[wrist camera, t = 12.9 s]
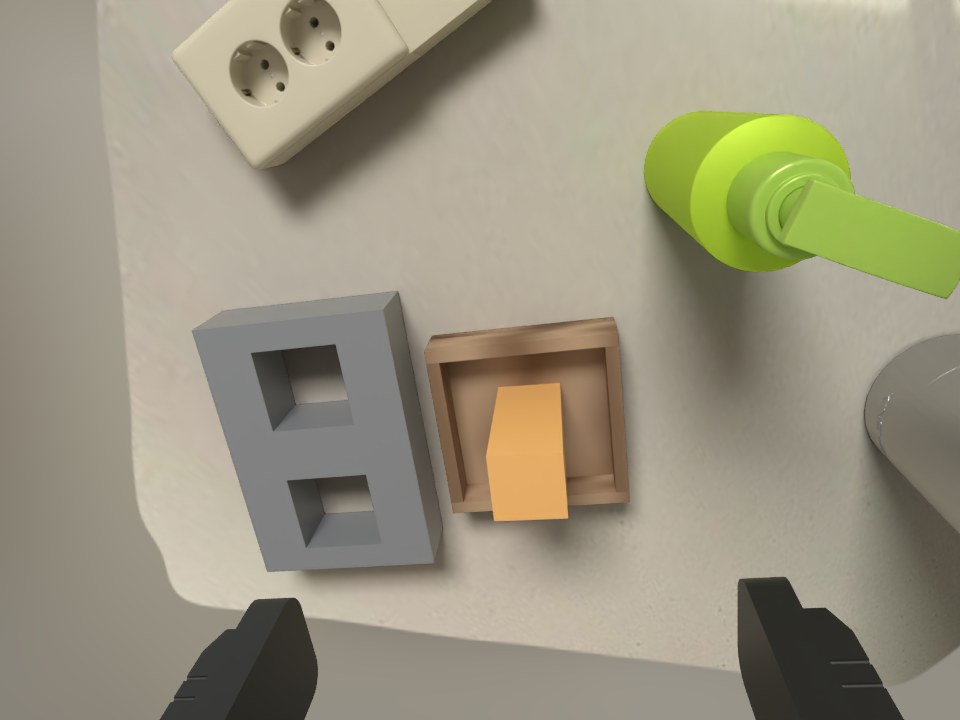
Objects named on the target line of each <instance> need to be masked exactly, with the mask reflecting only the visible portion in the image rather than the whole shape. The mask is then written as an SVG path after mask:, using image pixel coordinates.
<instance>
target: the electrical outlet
mask: <svg viewBox="0 0 960 720" xmlns="http://www.w3.org/2000/svg"><path fill="white" fill-rule="evenodd" d="M491 1H493V0H229V1H228V2H227V3H226V4H225V5H224V6H223V7H222V8H221V9H219V10H218V11H217V12H216V13H215V14H214V15H213V16H212V17H211V18H209V19H208V20H207V21H206V22H205V23H204V24H203V25H202V26H201V27H200V28H198V29H197V30H196V31H195V32H194V33H193V34H192V35H191V36H190V37H189V38H187V39H186V40H185V41H184V42H183V43H182V44H181V45H180V46H179V47H177V48H176V49H175V50H174V51H173V53H172V59H173V61H174V63H175V64H176V65H177V67H178V68H179V69H180V71H181V72H182V73H183V75H184V76H185V77H186V79H187V80H188V81H189V83H190V84H191V86H192V87H193V88H194V90H195V91H196V92H197V94H198V95H199V96H200V98H201V99H202V100H203V102H204V103H205V104H206V106H207V107H208V108H209V110H210V111H211V112H212V114H213V115H214V116H215V118H216V119H217V120H218V122H219V123H220V124H221V126H222V127H223V128H224V130H225V131H226V132H227V134H228V135H229V136H230V138H231V139H232V140H233V142H234V143H235V145H236V146H237V147H238V149H239V150H240V151H241V153H242V154H243V155H244V157H245V158H246V159H247V161H248V162H249V163H250V165H251V166H252V167H253V168H255V169H264V168H269V167H274V166H278V165H282V164H284V163H285V162H287V161H288V160H289V159H291V158H292V157H293V156H294V155H296V154H297V153H298V152H299V151H301V150H302V149H303V148H305V147H306V146H307V145H308V144H310V143H311V142H312V141H314V140H315V139H316V138H317V137H319V136H320V135H321V134H323V133H324V132H325V131H326V130H328V129H329V128H330V127H331V126H333V125H334V124H335V123H337V122H338V121H339V120H340V119H342V118H343V117H344V116H346V115H347V114H348V113H349V112H351V111H352V110H353V109H354V108H356V107H357V106H358V105H360V104H361V103H362V102H363V101H365V100H366V99H367V98H369V97H370V96H371V95H372V94H374V93H375V92H376V91H378V90H379V89H380V88H381V87H383V86H384V85H385V84H386V83H388V82H389V81H390V80H392V79H393V78H394V77H395V76H397V75H398V74H399V73H401V72H402V71H403V70H404V69H406V68H407V67H408V66H410V65H411V64H412V63H413V62H415V61H416V60H417V59H418V58H420V57H421V56H422V55H424V54H425V53H426V52H427V51H429V50H430V49H431V48H433V47H434V46H435V45H436V44H438V43H439V42H440V41H441V40H443V39H444V38H445V37H447V36H448V35H449V34H450V33H452V32H453V31H454V30H456V29H457V28H458V27H459V26H461V25H462V24H463V23H465V22H466V21H467V20H468V19H470V18H471V17H472V16H473V15H475V14H476V13H477V12H479V11H480V10H481V9H482V8H484V7H485V6H486V5H488V4H489V3H490V2H491Z"/></svg>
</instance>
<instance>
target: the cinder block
mask: <svg viewBox="0 0 960 720" xmlns="http://www.w3.org/2000/svg"><path fill="white" fill-rule="evenodd" d="M192 333H193V336H194V339H195V342H196V346H197V349H198V352H199V355H200V358H201V362H202V365H203V368H204V371H205V374H206V377H207V381H208V384H209V387H210V390H211V393H212V397H213V400H214V403H215V406H216V409H217V413H218V416H219V419H220V422H221V425H222V429H223V432H224V435H225V438H226V441H227V445H228V448H229V451H230V454H231V457H232V461H233V464H234V467H235V470H236V473H237V476H238V480H239V483H240V486H241V489H242V492H243V496H244V499H245V502H246V505H247V508H248V512H249V515H250V518H251V521H252V524H253V528H254V531H255V534H256V537H257V540H258V544H259V547H260V550H261V553H262V556H263V560H264V563H265V566H266V569H267V572H276V571H296V570H315V569H334V568H353V567H372V566H392V565H411V564H430V563H434V562H435V558H436V554H437V550H438V546H439V542H440V537H441V533H442V529H443V525H442V520H441V515H440V509H439V504H438V499H437V494H436V488H435V483H434V478H433V473H432V467H431V462H430V457H429V452H428V446H427V441H426V436H425V431H424V425H423V420H422V415H421V410H420V405H419V399H418V394H417V389H416V384H415V378H414V373H413V368H412V363H411V357H410V352H409V347H408V342H407V336H406V331H405V326H404V321H403V315H402V310H401V305H400V300H399V294H398V291H394V292H385V293H376V294H368V295H359V296H350V297H341V298H332V299H324V300H315V301H306V302H297V303H288V304H280V305H271V306H262V307H253V308H244V309H236V310H227V311H222V312H220V313H219V314H217V315H215V316H214V317H212V318H211V319H209V320H208V321H206V322H204V323H203V324H201V325H200V326H198V327H197V328H195V329H193V330H192ZM332 344H336V349H337V353H338V357H339V362H340V366H341V370H342V375H343V379H344V383H345V387H346V392H347V396H348V400H344V401H332V402H321V403H310V404H299V405H296V404H295V401H294V397H293V393H292V389H291V386H290V382H289V378H288V374H287V370H286V367H285V363H284V359H283V355H282V352H281V350H284V349H293V348H303V347H313V346H323V345H332ZM355 475H366V478H367V482H368V486H369V491H370V495H371V499H372V503H373V508H374V511H366V512H350V513H335V514H324V510H323V506H322V503H321V499H320V495H319V491H318V487H317V484H316V480H315V478H327V477H341V476H355Z"/></svg>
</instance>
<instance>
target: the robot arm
mask: <svg viewBox="0 0 960 720" xmlns="http://www.w3.org/2000/svg"><path fill="white" fill-rule="evenodd" d="M865 424H866V427H867V430H868V433H869V436H870V438H871V439H872V441H873V442H874V444H875V445H876V447H877V448H878V449H879V450H880V451H881V452H882V453H883V454H884V455H885V456H886V458H887V459H888V460H889V461H890V462H891V463H892V464H893V465H894V466H895V467H896V468H897V469H898V470H899V471H900V472H901V473H902V474H903V475H904V476H905V477H906V479H907V480H908V481H909V482H910V483H911V484H912V485H913V486H914V487H915V488H916V489H917V490H918V491H919V492H920V493H921V494H922V496H923V497H924V498H925V499H926V500H927V501H928V502H929V503H930V504H931V505H932V506H933V507H934V508H935V509H936V510H937V511H938V512H939V513H940V514H941V515H942V516H943V517H944V519H945V520H946V521H947V522H948V523H949V524H950V525H951V526H952V527H953V528H954V529H955V530H956V531H957V532H958V533H959V534H960V334H958V335H946V336H941V337H937V338H934V339H930V340H926V341H924V342H922V343H920V344H918V345H915V346H913V347H911V348H909V349H908V350H906V351H905V352H903V353H902V354H900V355H899V356H897V357H896V358H895V359H894V360H893V361H892V362H891V363H890V364H888V365H887V366H886V367H885V368H884V369H883V371H882V372H881V373H880V375H879V376H878V377H877V379H876V380H875V382H874V383H873V386H872V388H871V390H870V392H869V394H868V397H867V402H866V407H865ZM738 656H739V663H740V669H741V674H742V678H743V682H744V686H745V689H746V692H747V695H748V698H749V700H750V704H751V707H752V710H753V713H754V716H755V719H756V720H904V719H903V717H902V715H901V714H900V712H899V710H898V708H897V707H896V705H895V703H894V702H893V700H892V698H891V696H890V695H889V693H888V691H887V689H886V688H884V687H883V684H882V681H881V679H880V677H879V676H878V674H877V672H876V670H875V669H874V667H873V665H870V663H869V658H868V657H867V655H866V653H865V651H864V650H863V648H862V646H861V644H860V643H859V641H858V639H857V637H856V636H855V634H854V632H853V631H852V630H851V629H850V628H849V627H848V626H846V625H845V624H844V623H843V622H842V621H841V620H839V619H838V618H837V617H836V616H835V615H833V614H832V613H831V612H830V611H829V610H828V609H826V608H805V609H803V608H802V606H801V604H800V602H799V600H798V598H797V596H796V594H795V592H794V590H793V588H792V586H791V584H790V582H789V581H788V579H787V578H786V577H769V578H747V579H739V582H738ZM317 677H318V666H317V659H316V655H315V652H314V648H313V645H312V642H311V638H310V635H309V631H308V628H307V625H306V621H305V618H304V615H303V611H302V608H301V605H300V603H299V601H298V600H297V599H296V598H277V599H258V600H255V601H253V602H252V603H251V605H250V606H249V608H248V609H247V611H246V613H245V614H244V616H243V618H242V619H241V621H240V623H239V624H238V626H237V628H236V629H227V630H226V631H224V632H223V633H222V634H221V635H220V636H219V637H218V638H217V639H216V640H215V641H214V642H212V643H211V644H210V645H209V646H208V647H207V648H206V649H205V650H204V651H203V652H202V653H201V655H200V657H199V658H198V660H197V662H196V663H195V665H194V666H193V668H192V669H191V671H190V672H189V674H188V676H187V681H184V682H183V684H182V685H181V687H180V688H179V690H178V691H177V693H176V695H175V696H174V702H171V703H170V704H169V706H168V707H167V709H166V711H165V712H164V714H163V715H162V717H161V719H160V720H304V719H305V717H306V714H307V712H308V709H309V707H310V704H311V702H312V699H313V696H314V693H315V690H316V685H317Z"/></svg>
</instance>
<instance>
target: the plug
mask: <svg viewBox="0 0 960 720" xmlns="http://www.w3.org/2000/svg"><path fill="white" fill-rule="evenodd" d="M486 461H487V469H488V477H489V485H490V493H491V501H492V508H493V516H494V521H517V520H542V519H567V518H568V502H567V482H566V461H565V440H564V427H563V414H562V401H561V388H560V383H554V384H539V385H524V386H509V387H498V391H497V397H496V403H495V408H494V414H493V420H492V425H491V431H490V437H489V442H488V448H487V454H486Z"/></svg>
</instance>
